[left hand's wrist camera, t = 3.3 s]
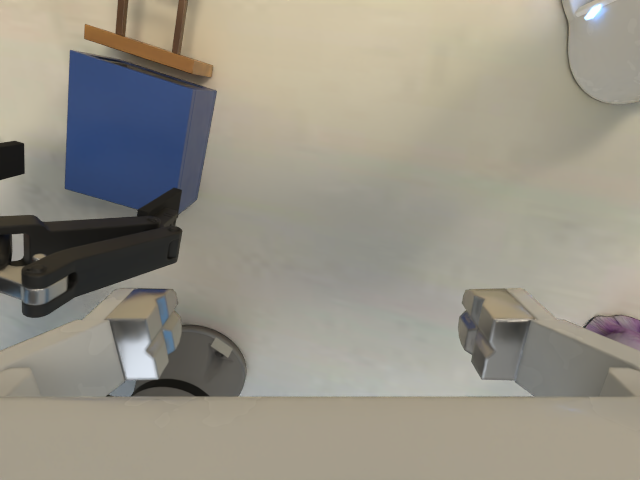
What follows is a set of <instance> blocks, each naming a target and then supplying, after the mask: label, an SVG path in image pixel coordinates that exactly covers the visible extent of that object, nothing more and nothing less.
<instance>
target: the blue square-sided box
mask: <svg viewBox="0 0 640 480" xmlns="http://www.w3.org/2000/svg"><path fill="white" fill-rule="evenodd" d="M102 59H103V60H102ZM105 60H109V61H115V62H120V63H125V64H128V65H131V66H134V67H138V68H141V69H144V70H147V71H150V72H153V73H156V74H159V75H162V76H165V77H168V78H172V79H175V80H178V81H181V82H184V83H187V84H190V85H193V86H196V87H199V88H194V87H186V86H183V85H180V84H177V83H174V82H171V81H167V80H164V79H161V78H158V77H155V76H152V75H149V74H146V73H143V72H140V71H136V70H133V69H130V68H127V67H124V66H121V65H118V64H115V63H112V62H109V61H105ZM216 93H217V91H215V90H212V89H209V88H206V87H203V86H200V85H197V84H194V83H191V82H188V81H184V80H181V79H178V78H175V77H172V76H169V75H166V74H163V73H160V72H157V71H154V70H150V69H147V68H144V67H141V66H138V65H135V64H132V63H129V62H126V61H123V60H120V59H116V58H111V57H105V56H100V55H95V54H89V53H84V52H79V51H73V50H70V64H69V90H68V117H67V143H66V169H65V189H68V190H71V191H75V192H78V193H82V194H85V195H89V196H92V197H96V198H99V199H103V200H106V201H110V202H113V203H117V204H120V205H124V206H127V207H131V208H134V209H140V208H141V207H143V206H144V205H146V204H148V203H149V202H151V201H153V200H154V199H156V198H157V197H159V196H161V195H162V194H164V193H166V192H167V191H169V190H170V189H172V188H177V189H181V190H182V194H181V200H180V207H179V213H178V214H180V213H181V212H182V211H183V210H185V209H186V208H187V207H188V206H190V205H191V204H192V203H193V202H195V201H196V200H197V197H198V191H199V186H200V180H201V175H202V169H203V164H204V158H205V153H206V148H207V142H208V137H209V131H210V126H211V120H212V115H213V109H214V104H215V98H216Z"/></svg>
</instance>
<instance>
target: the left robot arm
mask: <svg viewBox="0 0 640 480" xmlns="http://www.w3.org/2000/svg"><path fill="white" fill-rule="evenodd" d="M562 4H563V8H564V11H565V14H566V17H567V20H568V22H569V37H568V58H569V64H570V68H571V71H572V73H573V76H574V78H575V80H576V81H577V83H578V85H579V86H580V87H581V88H582V89H583V90H584V91H585V92H586V93H587V94H588V95H590V96H591V97H593V98H594V99H597V100H599V101H602V102H605V103H610V104H629V103H634V102H638V101H640V0H562ZM177 304H178V300H177V295H176V292H175V291H174V290H173V289H136V288H121V289H115V290H114V291H113V292H112V293H111V294H110V295H109V296H108V297H107V298H106V299H104V300H103V301H102V302H101V303H100V304H99V305H98V306H97V307H96V308H95V309H93V310H92V311H91V312H90V313H89V314H88V315H87V316H86V317H85V318H84V319H83V320H75V321H72V322H70V323H67V324H65V325H62V326H60V327H57V328H55V329H53V330H50V331H48V332H45V333H43V334H40V335H38V336H35V337H33V338H30V339H28V340H26V341H23V342H21V343H18V344H16V345H13V346H11V347H8V348H6V349H4V350H1V351H0V480H640V351H639V350H636V349H634V348H631V347H629V346H626V345H624V344H622V343H619V342H617V341H614V340H612V339H609V338H607V337H605V336H602V335H600V334H597V333H595V332H592V331H590V330H587V329H585V328H583V327H580V326H578V325H575V324H573V323H570V322H568V321H565V320H557V319H556V318H555V317H554V316H553V315H552V314H551V313H550V312H549V311H548V310H547V309H545V308H544V307H543V306H542V305H541V304H540V303H539V302H538V301H537V300H536V299H535V298H533V297H532V296H531V295H530V294H529V293H528V292H527V291H526V290H525V289H521V288H509V289H505V288H503V289H469V290H465V293H464V295H463V299H462V304H463V306H464V307H465V309H466V311H465V312H464V313H463V314H462V315H461V316H460V317H459V324H458V332H459V339H460V342H461V344H462V346H463V348H464V350H465V351H467V352H468V353H470V354H472V360H471V362H472V364H473V366H474V367H475V369H476V371H477V372H478V374H479V376H480V377H481V379H482V380H515V382H516V383H517V384H519V385H520V386H521V387H523V388H524V389H525V390H527V391H528V392H529V393H531V394H532V395H533V396H535V397H106V396H107V395H108V394H110V393H111V392H112V391H114V390H115V389H116V388H118V387H119V386H120V385H122V384H123V383H124V382H125V380H157V379H159V377H160V376H161V374H162V372H163V371H164V369H165V367H166V366H167V364H168V362H169V360H168V354H170V353H172V352H173V351H175V350H176V348H177V346H178V344H179V342H180V338H181V334H182V323H181V317H180V316H179V315H178V314H177V313H176V312H175V311H174V309H175V307H176V306H177Z"/></svg>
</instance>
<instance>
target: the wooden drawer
mask: <svg viewBox="0 0 640 480" xmlns="http://www.w3.org/2000/svg"><path fill="white" fill-rule="evenodd" d="M187 4H188V0H179V4H178V11H177V19H176V26H175V34H174V41H173V49H172V52H171V51H168V50H165V49H162V48H158V47H155V46H152V45H149V44H146V43H143V42H140V41H137V40H134V39H131V38H128V37H125V31H126V19H127V8H128V0H118V9H117V22H116V33H113V32H109V31H106V30H103V29H100V28H96V27H93V26H90V25H87V24H85V33H84V39H86V40H89V41H93V42H96V43H99V44H102V45H105V46H108V47H111V48H114V49H117V50H120V51H123V52H126V53H129V54H132V55H135V56H139V57H142V58H145V59H148V60H151V61H154V62H157V63H160V64H163V65H166V66H169V67H172V68H175V69H178V70H181V71H184V72H188V73H191V74H195V75H201V76H206V77H211V75H212V70H213V65H210V64H207V63H204V62H201V61H198V60H195V59H192V58H189V57H186V56H183V55H180V53H181V46H182V39H183V32H184V25H185V18H186V11H187ZM102 60H103V59H102ZM105 61H109V60H105ZM109 62H112V63H115V64H118V65H121V66H124V67H127V68H130V69H133V70H136V71H140V72H143V73H146V74H149V75H152V76H155V77H158V78H161V79H164V80H167V81H171V82H174V83H177V84H180V85H183V86H186V87H194V88H199V87H196V86H193V85H190V84H187V83H184V82H181V81H178V80H175V79H172V78H168V77H165V76H162V75H159V74H156V73H153V72H150V71H147V70H144V69H141V68H138V67H134V66H131V65H128V64H125V63H120V62H115V61H109Z"/></svg>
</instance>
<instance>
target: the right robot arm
mask: <svg viewBox="0 0 640 480" xmlns="http://www.w3.org/2000/svg"><path fill="white" fill-rule="evenodd" d="M21 174H25V172H24V143H21V142H17V141H11V142H4V143H0V180H2V179H6V178H10V177H13V176H17V175H21ZM181 194H182V190H181V189H177V188H172V189H170V190H169V191H167V192H166V193H164V194H162V195H161V196H159V197H157V198H156V199H154V200H153V201H151V202H149V203H148V204H146V205H144V206H143V207H141V208H140V209H138V213H137V217H122V218H105V219H89V220H72V221H55V222H42V221H40V220H39V219H38V218H37V217H36V216H33V215H21V216H0V293H3V294H6V295H9V296H12V297H15V298H18V299H20V300H22V313H23V315H25V316H27V317H31V318H38V317H43V316H46V315H48V314H50V313H51V312H53V311H54V310H56V309H57V308H59V307H60V306H62V305H63V304H65V303H67V302H68V301H70V300H71V299H73V298H74V297H77V296H80V295H83V294H86V293H89V292H92V291H95V290H97V289H100V288H103V287H106V286H109V285H112V284H115V283H118V282H121V281H124V280H127V279H129V278H132V277H135V276H138V275H141V274H144V273H147V272H150V271H153V270H156V269H159V268H161V267H164V266H167V265H170V264H173V263H175V262H177V260H178V254H179V248H180V242H181V236H182V229H180V228H179V227H175V224H176V218H177V217H178V213H179V207H180V200H181ZM21 233H23V234H24V257H23V258H22V259H21V260H18V261H12V262H11V259H12V234H21ZM168 360H169V362H168V364H167V366H166V367H165V369H164V371H163V372H162V374H161V376H160V377H159V379H157V380H136V384H135V389H134V392H133V394H132V395H131V397H238V396H239V394H240V393H241V391H242V388H243V385H244V382H245V378H246V363H245V360H244V357H243V355H242V353H241V352H240V350H239V349H238V348H237V346H236V345H235V344H234V343H233V342H232V341H231V340H229V339H228V338H227V337H225V336H224V335H222V334H220V333H219V332H216V331H214V330H212V329H209V328H205V327H201V326H193V325H184V326H182V334H181V338H180V342H179V344H178V346H177V348H176V350H175V351H173V352H172V353H170V354H168ZM106 397H114V396H111V395H107V396H106Z"/></svg>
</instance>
